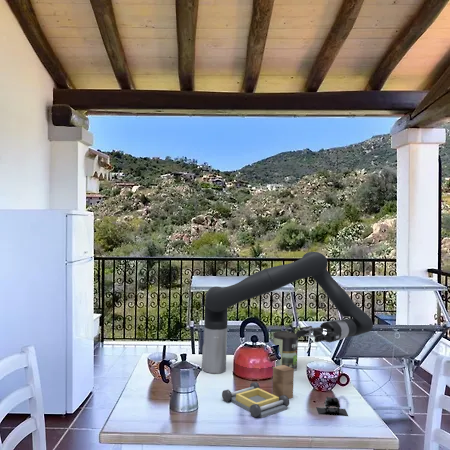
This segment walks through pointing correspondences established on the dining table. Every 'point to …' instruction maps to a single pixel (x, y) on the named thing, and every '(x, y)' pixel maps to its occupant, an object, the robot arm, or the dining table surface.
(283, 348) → the coffee can
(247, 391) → the chassis
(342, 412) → the black angular machine part
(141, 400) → the dining table surface
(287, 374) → the brown wooden block
